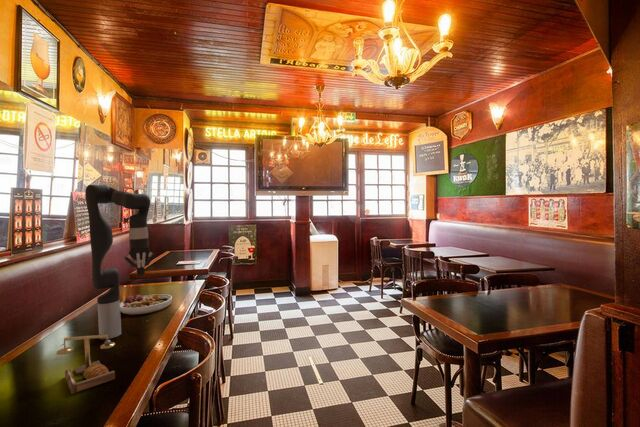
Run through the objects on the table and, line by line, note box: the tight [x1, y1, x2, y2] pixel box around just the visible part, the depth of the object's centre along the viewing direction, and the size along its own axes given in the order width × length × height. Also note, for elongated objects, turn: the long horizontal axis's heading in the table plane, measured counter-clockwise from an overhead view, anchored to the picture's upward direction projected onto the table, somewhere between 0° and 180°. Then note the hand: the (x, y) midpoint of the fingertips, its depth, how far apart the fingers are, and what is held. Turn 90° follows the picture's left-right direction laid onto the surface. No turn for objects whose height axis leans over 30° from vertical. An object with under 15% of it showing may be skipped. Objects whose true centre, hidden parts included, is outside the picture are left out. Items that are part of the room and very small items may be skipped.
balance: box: [55, 334, 116, 376], centre depth 125 cm, size 19×6×14 cm, turn 135°
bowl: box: [120, 293, 173, 315], centre depth 203 cm, size 30×30×8 cm
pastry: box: [82, 363, 110, 380], centre depth 119 cm, size 9×7×4 cm
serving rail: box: [64, 368, 116, 395], centre depth 118 cm, size 16×13×3 cm
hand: (140, 275), depth 145 cm, fingers closed
